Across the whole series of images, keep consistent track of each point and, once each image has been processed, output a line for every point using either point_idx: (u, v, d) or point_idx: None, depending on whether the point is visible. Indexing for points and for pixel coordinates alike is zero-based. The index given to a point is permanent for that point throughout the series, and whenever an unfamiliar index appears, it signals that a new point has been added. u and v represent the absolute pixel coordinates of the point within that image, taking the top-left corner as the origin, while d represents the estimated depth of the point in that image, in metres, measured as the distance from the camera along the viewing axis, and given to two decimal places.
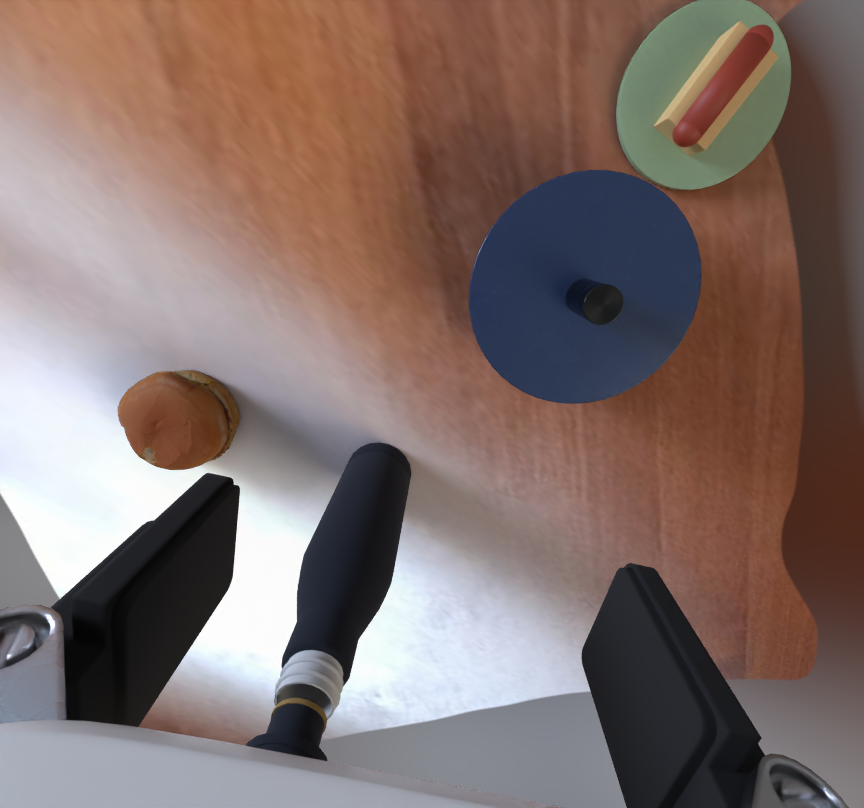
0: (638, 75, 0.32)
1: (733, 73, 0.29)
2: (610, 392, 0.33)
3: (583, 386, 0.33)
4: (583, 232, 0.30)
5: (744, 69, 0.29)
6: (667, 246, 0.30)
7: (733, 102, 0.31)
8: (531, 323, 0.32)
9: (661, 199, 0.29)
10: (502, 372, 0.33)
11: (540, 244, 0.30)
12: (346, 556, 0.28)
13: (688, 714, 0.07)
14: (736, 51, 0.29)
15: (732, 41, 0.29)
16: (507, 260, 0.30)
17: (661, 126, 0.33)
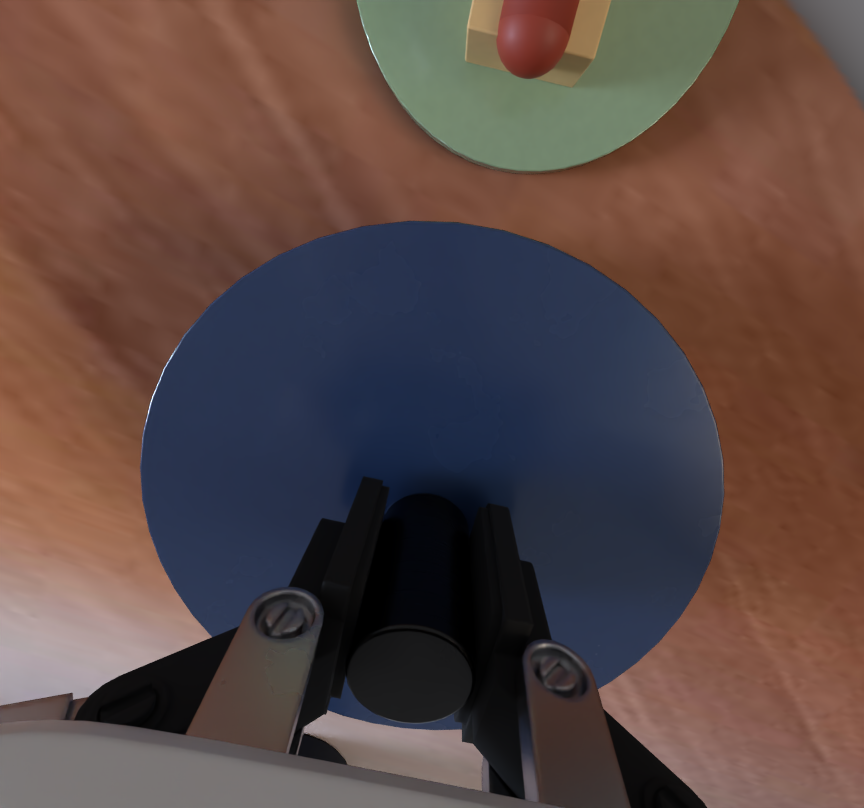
0: None
1: None
2: None
3: None
4: (345, 401, 0.11)
5: None
6: (576, 354, 0.11)
7: None
8: None
9: (501, 249, 0.10)
10: (339, 709, 0.15)
11: (264, 461, 0.12)
12: None
13: (486, 612, 0.08)
14: None
15: None
16: (214, 517, 0.12)
17: (477, 54, 0.14)
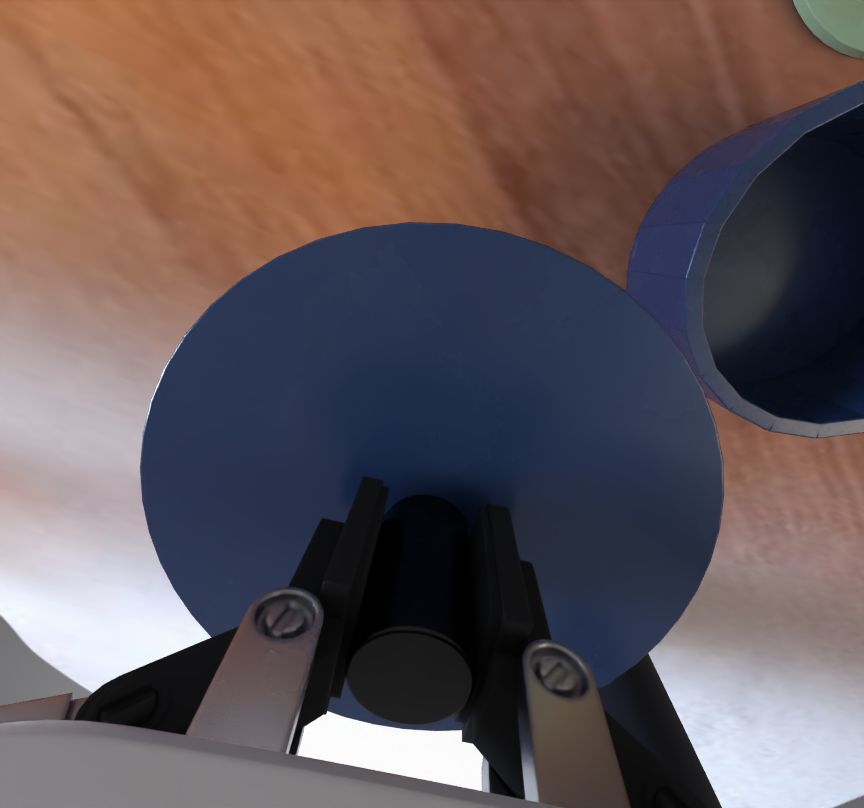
0: None
1: None
2: None
3: None
4: (345, 402, 0.11)
5: None
6: (575, 355, 0.11)
7: None
8: None
9: (501, 250, 0.10)
10: (339, 710, 0.15)
11: (264, 462, 0.12)
12: None
13: (486, 612, 0.08)
14: None
15: None
16: (214, 518, 0.12)
17: None
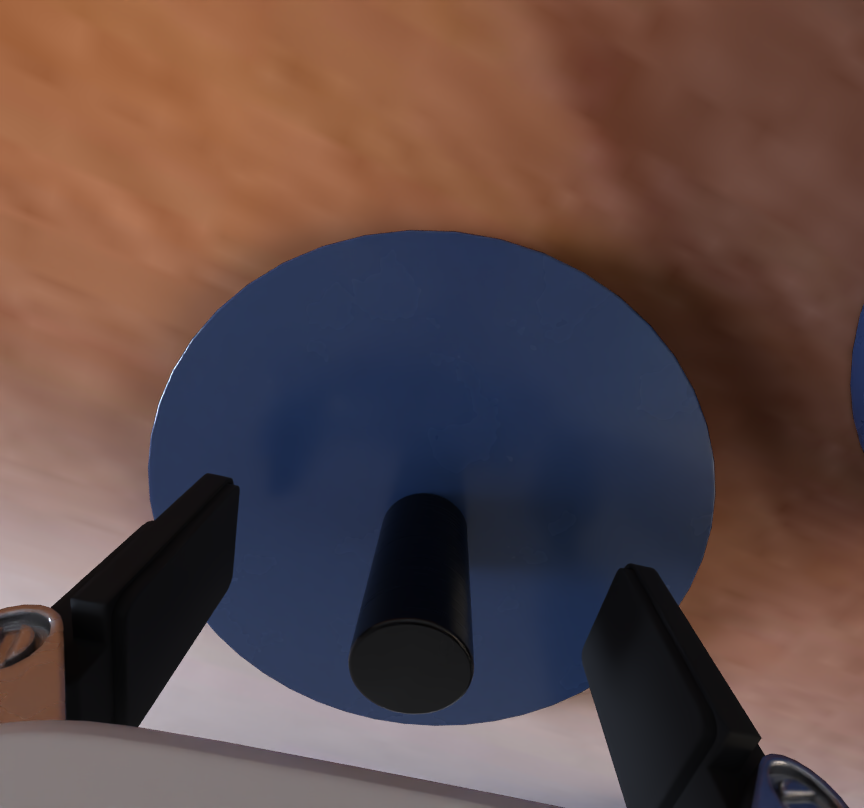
0: None
1: None
2: None
3: (522, 683, 0.14)
4: (348, 404, 0.12)
5: None
6: (570, 358, 0.11)
7: None
8: (344, 610, 0.14)
9: (498, 257, 0.10)
10: (341, 705, 0.15)
11: (268, 462, 0.12)
12: None
13: (688, 714, 0.07)
14: None
15: None
16: None
17: None
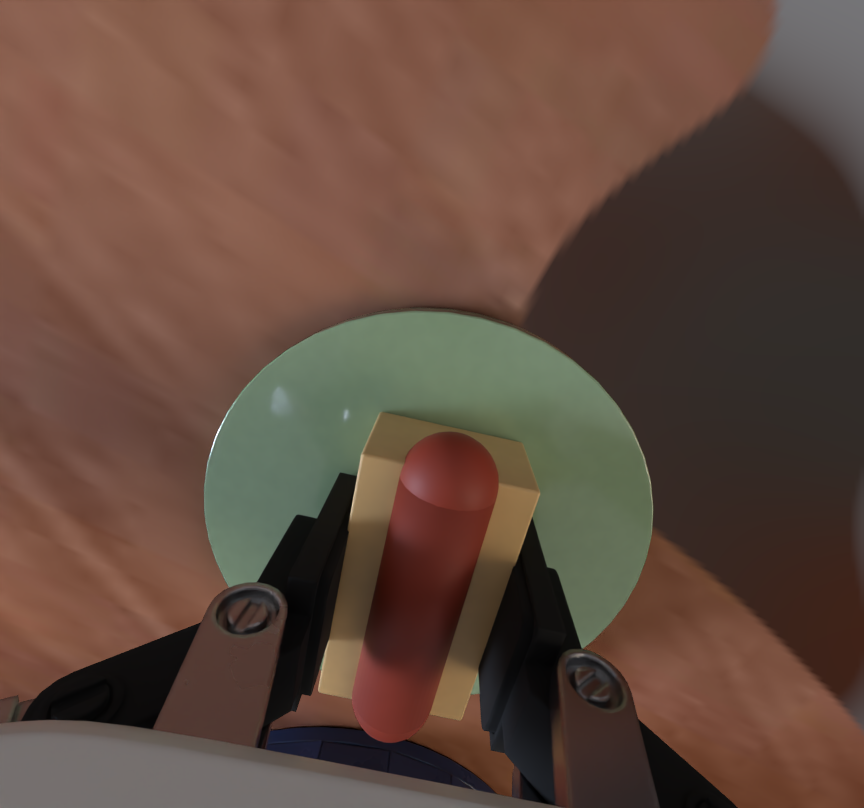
0: (240, 544, 0.12)
1: (409, 609, 0.09)
2: None
3: None
4: None
5: (437, 591, 0.09)
6: None
7: (470, 622, 0.10)
8: None
9: None
10: None
11: None
12: None
13: (516, 620, 0.08)
14: (393, 538, 0.09)
15: (373, 504, 0.09)
16: None
17: None
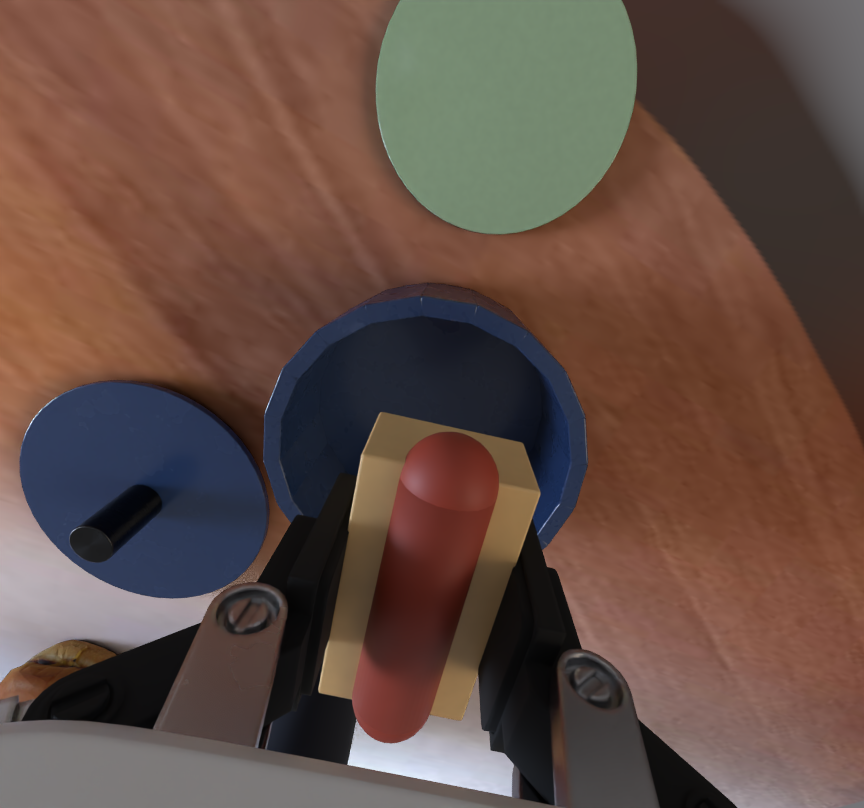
0: (394, 107, 0.21)
1: (409, 609, 0.09)
2: (235, 572, 0.30)
3: (206, 575, 0.30)
4: (99, 447, 0.27)
5: (437, 592, 0.09)
6: (184, 429, 0.27)
7: (470, 622, 0.10)
8: None
9: (146, 392, 0.26)
10: (125, 587, 0.31)
11: (71, 471, 0.28)
12: None
13: (516, 620, 0.08)
14: (394, 538, 0.09)
15: (373, 505, 0.09)
16: (54, 494, 0.29)
17: None
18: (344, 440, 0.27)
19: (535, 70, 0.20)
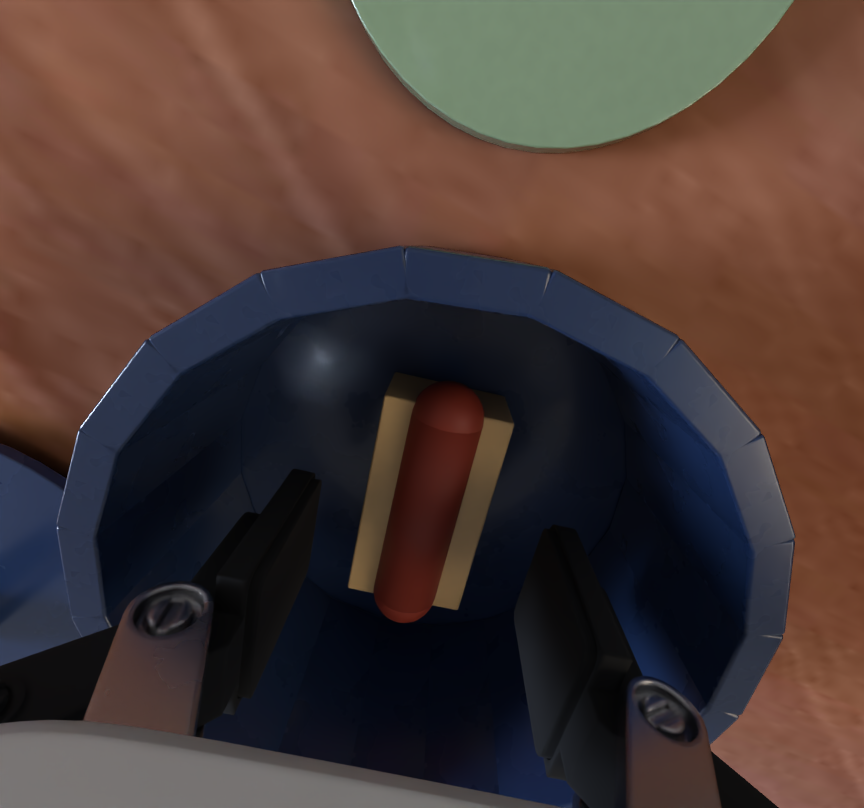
0: None
1: (419, 509, 0.12)
2: None
3: None
4: None
5: (439, 496, 0.12)
6: (14, 504, 0.16)
7: (464, 527, 0.13)
8: None
9: None
10: None
11: None
12: None
13: (576, 645, 0.08)
14: (407, 458, 0.12)
15: (392, 434, 0.12)
16: None
17: None
18: None
19: None
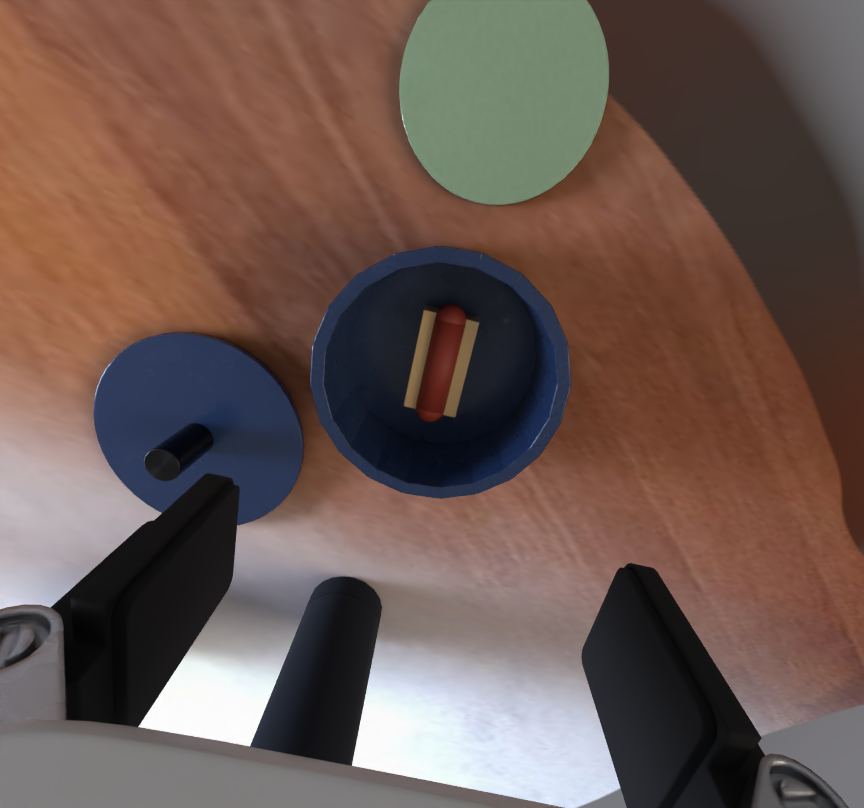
0: (414, 100, 0.26)
1: (438, 359, 0.28)
2: (274, 502, 0.35)
3: (249, 505, 0.35)
4: (162, 390, 0.32)
5: (447, 352, 0.28)
6: (235, 374, 0.32)
7: (457, 372, 0.29)
8: None
9: (204, 341, 0.31)
10: None
11: (137, 412, 0.33)
12: None
13: (688, 714, 0.07)
14: (433, 337, 0.28)
15: (426, 328, 0.28)
16: (121, 433, 0.34)
17: None
18: (369, 384, 0.32)
19: (527, 70, 0.25)
